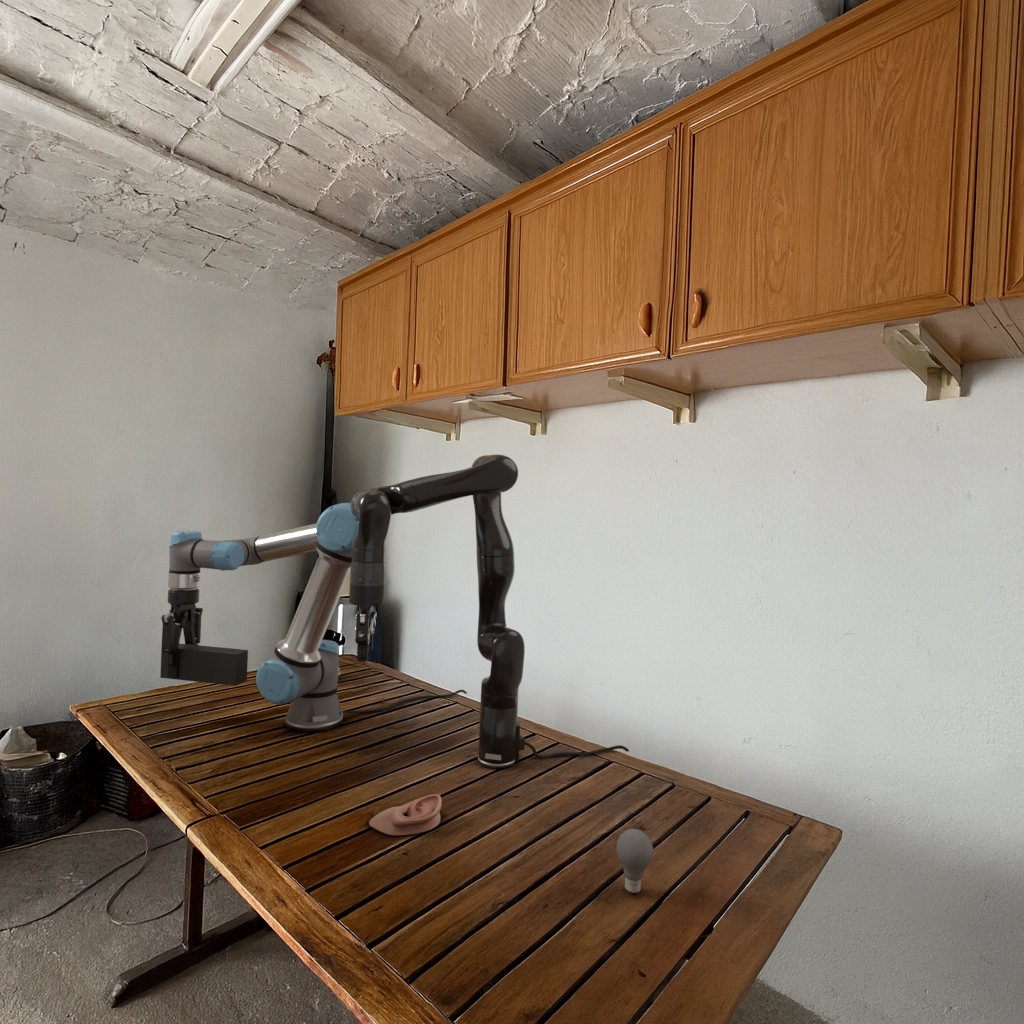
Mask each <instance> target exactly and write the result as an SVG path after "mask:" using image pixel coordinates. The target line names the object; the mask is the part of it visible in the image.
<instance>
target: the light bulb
mask: <svg viewBox="0 0 1024 1024" xmlns="http://www.w3.org/2000/svg"><path fill="white" fill-rule="evenodd" d="M615 849H616V854H617V857H618V859H619V861H620V863H621V865H622V867H623V873H624V874H623V875H624V876H625V878H624V888H625V890H627V891H628V892H630V893H634V894H635V893H639V892H640V891H641V889H642V887H641V886H642V879H643V877H644V875H645V871H646V868H647V867H648V866H649V864H650V863H651V861H652V859H653V855H654V847H653V843H652V841H651V838H649V836H648V835H647V834H646V833H645V832H643V831H642V830H641V829H636V828H629V829H627V830H625V831H623V832H622V833H621V834H620V835H619V837H618V839H617V841H616V847H615Z"/></svg>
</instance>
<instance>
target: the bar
mask: <svg viewBox="0 0 1024 1024" xmlns="http://www.w3.org/2000/svg"><path fill="white" fill-rule="evenodd" d="M160 651H161V650H160ZM177 653H179V676H178V678H171V677H167V675H168V665H167V658H168V654H167V653H164V652H162V651H161V652H160V675H159V677H160V679H168V680H178V681H188V682H196V683H205V684H215V685H216V684H217V685H225V686H234V687H236V686H238V685H241V684H242V683H245V682H247V681H248V665H249V664H248V662H249V660H248V658H249V650H248V649H242V648H230V647H221V646H220V647H219V646H209V645H190V644H185V643H180V642H179V646H178V651H177Z"/></svg>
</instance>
